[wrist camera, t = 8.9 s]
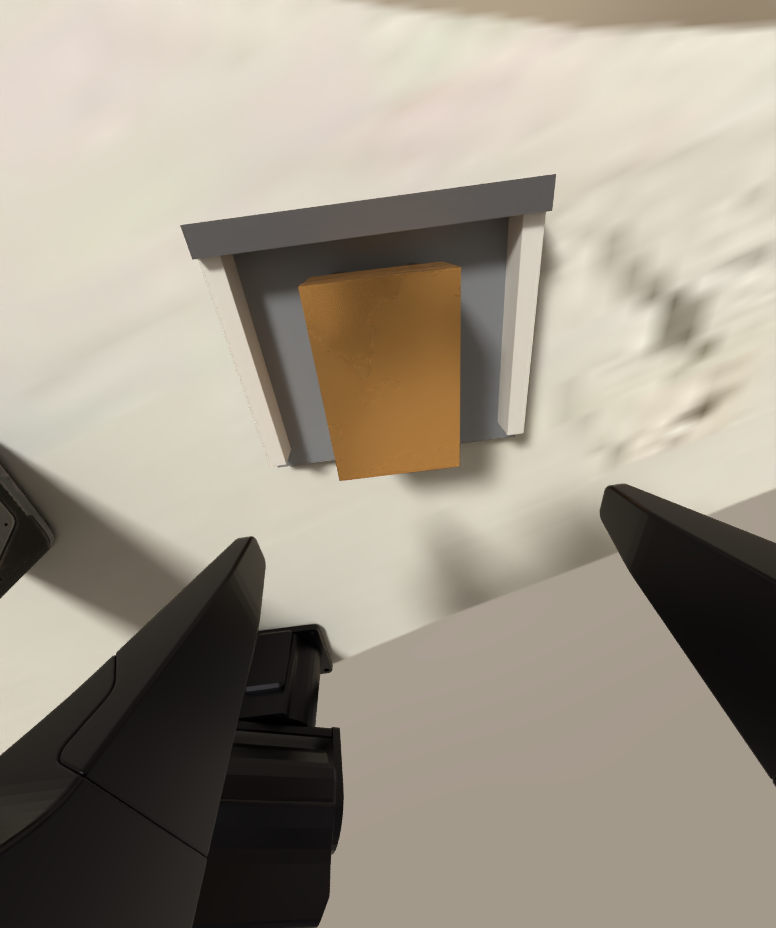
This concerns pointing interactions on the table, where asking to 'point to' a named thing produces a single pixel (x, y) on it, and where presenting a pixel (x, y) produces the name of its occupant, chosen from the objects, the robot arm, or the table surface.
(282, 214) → the dock
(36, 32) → the table surface
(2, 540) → the electronic device
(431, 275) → the trolley
